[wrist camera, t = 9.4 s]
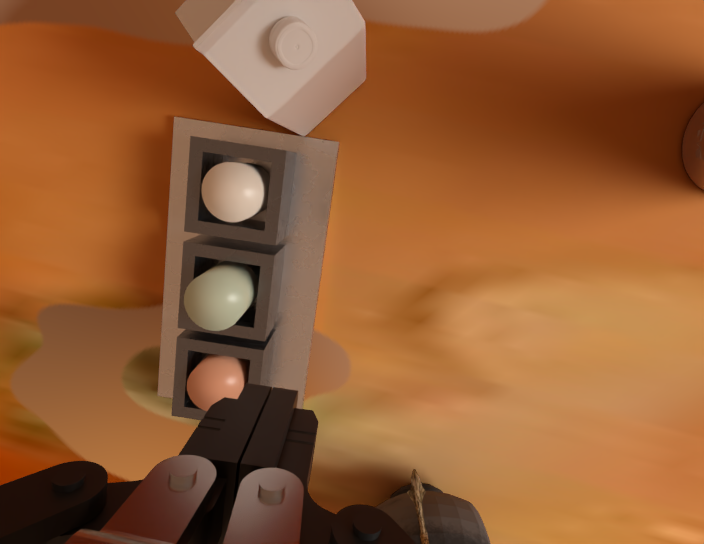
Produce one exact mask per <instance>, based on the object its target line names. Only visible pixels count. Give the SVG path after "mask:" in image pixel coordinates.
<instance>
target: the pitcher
mask: <svg viewBox="0 0 704 544" xmlns="http://www.w3.org/2000/svg"><path fill="white" fill-rule="evenodd" d="M375 508H378V509H380V510H382V511H384V512H385V513H386V514H388V515H389V516H390V517H391V518H392V519H393V520H394V521H395V522H396V523H397V524H398V525H399V526H400V527H401V528H402V529H403V530H404V531H405V532H406V533H407V535H408V536H409V537H410V538H411V539H412V540H413V541H414V542H415V543H416V544H490V540H489V537H488V534H487V532H486V529H485V526H484V524H483V521H482V519H481V517H480V515H479V513H478V511H477V510H476V509H475V507H474V506H473V505H472V504H471V503H470V502H468V501H466V500H463V499H461V498H458V497H455V496H453V495H450V494H446V493H443V492H442V491H441V490H439V489H437V488H435V487H433V486H431V485H430V484H422V483H421V482H420V477H419V476H418V474H417V472H416V470H415V469H413V473H412V477H411V485H407V486H404V487H401V488H400V489H398V490H397V491H396V492H395V493H394V494H392V495H391V497H390V499H388V500H386V501H385V502H383V503H381V504H380V505H378V506H377V507H375Z"/></svg>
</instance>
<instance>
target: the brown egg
mask: <svg viewBox="0 0 704 544" xmlns="http://www.w3.org/2000/svg"><path fill="white" fill-rule="evenodd" d="M249 369H250V360H248V359H242V358H235V357H229V356H222V355H216V354H209V353H208V354H207V355H206V356H205V357H204V358H203V360H202V361H201V362H200V363H199V364H198V365H197V367H196V368H195V369H194V370H193V371H192V372H191V374H190V375H189V378H188V381H187V391H188V395H189V397H190V399H191V400H192V402H193V403H194V404H195V405H196V406H198V407H199V408H201V409H202V410H204V411H208V409H209V408H210V406H211V405H213V404H214V403H216V402H218V401H219V400H221V399H222V398H224V397H226V398H233V399H238V397H239V395H240V393H241V392H242V390H243V388H244V386H245V384H246V383H248V379H249Z"/></svg>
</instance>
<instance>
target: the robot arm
mask: <svg viewBox="0 0 704 544" xmlns="http://www.w3.org/2000/svg"><path fill="white" fill-rule="evenodd" d="M682 158H683V162H684V166H685V169H686V171H687V173H688V175H689V177H690V178H691V180H692V181H693V182H694V183H695V184H696V185H697V186H698V187H699V188H701V189H702V190H704V103H703V104H702V105H701V106H700V107H699V108H698V109H697V110H696V112H695V113H694V115H693V116H692V118H691V120H690V121H689V123H688V126H687V128H686V131H685V133H684V138H683V143H682ZM297 401H298V391H297V390H291V389H284V388H278V387H273V389H272V387H271V386H264V385H258V384H251V383H246V384H245V386H244V388H243V390H242V392H241V393H240V395H239V397H238V399H233V398H226V397H224V398H222V399H221V400H219V401H218V402H216V403H214V404H213V405H211V406H210V408H209V409H208V411H207V413H206V414H205V416H204V418H203V419H202V420H201V422H200V423H199V425H198V428H196V429H195V431H194V432H193V434H192V435H191V437H190V438H189V440H188V442H187V443H186V445H185V446H184V448H183V449H182V451H181V452H180V454H179V455H178V456H175V457H171V458H168V459H166V460H164V461H162V462H160V463H159V464H157V465H156V466H155V467H154V468H153V469H152V470H151V471H150V472H149V474H148V475H147V476H146V477H145V478H144V479H143V480H139V481H130V482H117V483H107V479H108V475H107V472H106V470H105V469H104V468H103V467H102V466H100V465H99V464H96V463H93V462H88V461H73V462H67V463H62V464H59V465H56V466H53V467H50V468H48V469H45V470H42V471H39V472H36V473H34V474H31V475H28V476H25V477H23V478H20V479H17V480H14V481H11V482H9V483H6V484H3V485H0V544H416V543H415V542H414V541H413V540H412V539H411V538H410V537H409V536H408V535H407V533H406V532H405V531H404V530H403V529H402V528H401V527H400V526H399V525H398V524H397V523H396V522H395V521H394V520H393V519H392V518H391V517H390V516H389V515H388V514H386V513H385V512H384V511H382V510H380V509H378V508H375V507H372V506H368V505H351V506H348V507H345V508H343V509H342V510H340V511H339V512H338V513H337V514H334V513H331V512H329V511H327V510H325V509H323V508H322V507H320V506H319V505H317V504H316V503H315V502H314V501H313V500H312V498H311V497H310V495H309V493H308V484H309V479H310V473H311V468H312V461H313V454H314V448H315V441H316V434H317V428H318V420H317V418H316V416H315V414H314V412H313V411H312V410H305V409H299V408H297Z"/></svg>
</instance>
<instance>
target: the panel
mask: <svg viewBox="0 0 704 544" xmlns="http://www.w3.org/2000/svg"><path fill="white" fill-rule="evenodd" d="M338 150H339V142H335V141H329V140H322V139H316V138H310V137H303V136H297V135H290V134H284V133H277V132H271V131H264V130H258V129H251V128H245V127H239V126H232V125H226V124H219V123H213V122H206V121H200V120H193V119H187V118H180V117H174V126H173V143H172V160H171V176H170V193H169V210H168V227H167V244H166V261H165V278H164V295H163V313H162V330H161V345H160V362H159V379H158V396H162V397H169V398H173V402H172V416H178V417H184V418H191V419H197V420H202V419H203V418H204V416H205V414H206V413H207V411H204V410H202V409H201V408H199V407H198V406H196V405H195V404H194V403H193V402H192V400H191V399H190V397H189V395H188V391H187V381H188V378H189V375H190V374H191V372H192V371H193V370H194V369H195V368H196V367H197V365H198V364H199V363H200V362H201V361H202V360H203V358H204V357H205V356H206V355H207V354H208V353H209V354H216V355H222V356H229V357H235V358H242V359H248V360H250V369H249V379H248V383H251V384H258V385H264V386H271V387H272V389H273V387H278V388H284V389H291V390H297V391H298V401H297V408H299V409H303V401H304V394H305V387H306V380H307V372H308V365H309V358H310V351H311V343H312V337H313V330H314V322H315V315H316V308H317V301H318V294H319V286H320V279H321V272H322V265H323V258H324V251H325V243H326V236H327V229H328V222H329V215H330V207H331V200H332V193H333V186H334V179H335V172H336V164H337V157H338ZM224 162H241V163H253V164H256V165H258V166H260V167H262V168H263V169H264V170H265V171H266V172H267V173H268V174H269V176H270V184H269V193H268V202H267V209H265V210H264V211H263V212H261V213H259V214H257V215H255V216H252V217H250V218H247V219H245V220H243V221H239V222H226V221H223V220H220V219H218V218H217V217H215V216H214V215H213V214H212V213H211V212H210V211H209V210H208V209H207V207H206V206H205V204H204V201H203V198H202V183H203V180H204V177H205V175H206V174H207V173H208V171H209V170H210V169H211V168H213V167H214V166H216V165H218V164H220V163H224ZM223 261H231V262H238V263H244V264H246V265H248V266H249V267H250V268H251V269H252V270H253V271H254V273H255V275H256V276H257V279H258V283H259V286H258V295H257V297H256V299H255V301H254V302H253V303H252V304H251V305H250V307H249V308H248V309H247V310H246V311H245V313H244V314H243V315H242V316H241V317H240V318H239V320H238V321H237V322H236V323H235V324H234V325H233V326H231V327H229V328H227V329H225V330H220V331H211V330H207V329H204V328H202V327H200V326H198V325H197V324H195V323H194V322H193V321H192V320H191V318H190V317H189V316H188V314H187V312H186V309H185V306H184V294H185V291H186V289H187V287H188V285H189V284H190V283H191V282H192V281H193V280H194V279H195V278H197V277H198V276H200V275H201V274H203V273H205V272H206V271H208V270H209V269H211V268H212V267H214V266H215V265H217V264H219V263H220V262H223Z"/></svg>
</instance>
